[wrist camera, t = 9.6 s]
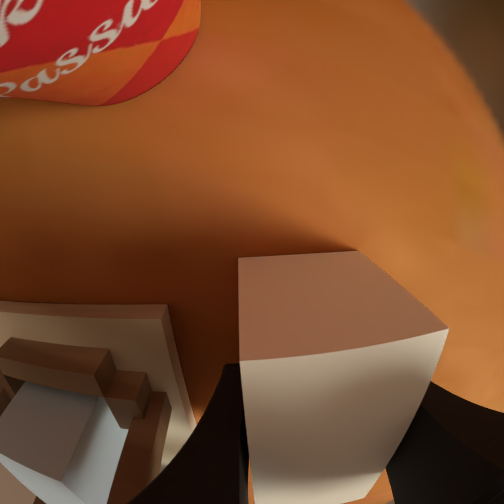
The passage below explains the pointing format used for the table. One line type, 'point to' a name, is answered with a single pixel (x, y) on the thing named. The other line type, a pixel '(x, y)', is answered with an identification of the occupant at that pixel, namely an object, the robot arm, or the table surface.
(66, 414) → the grey block
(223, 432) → the robot arm
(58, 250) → the table surface
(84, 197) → the table surface
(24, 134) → the table surface
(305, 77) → the table surface
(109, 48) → the paper cup
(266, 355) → the cream white block
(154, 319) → the jig
